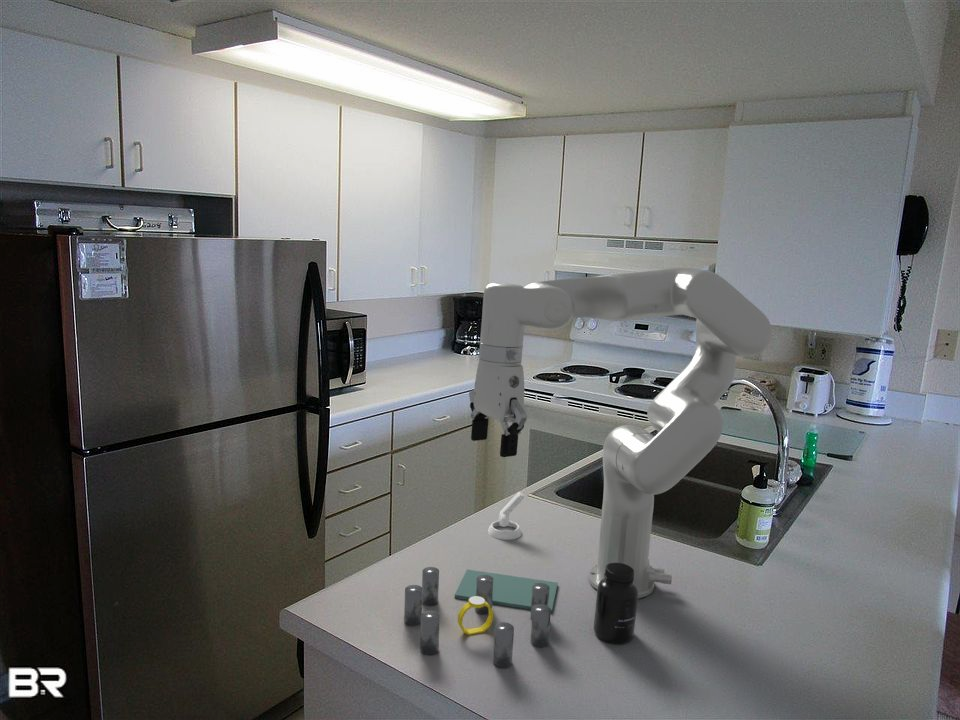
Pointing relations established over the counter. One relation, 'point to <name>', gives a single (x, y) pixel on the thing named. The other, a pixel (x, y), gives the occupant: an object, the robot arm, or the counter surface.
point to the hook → (507, 521)
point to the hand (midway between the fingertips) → (493, 447)
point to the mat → (505, 589)
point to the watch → (476, 603)
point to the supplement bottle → (616, 604)
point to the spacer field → (485, 590)
